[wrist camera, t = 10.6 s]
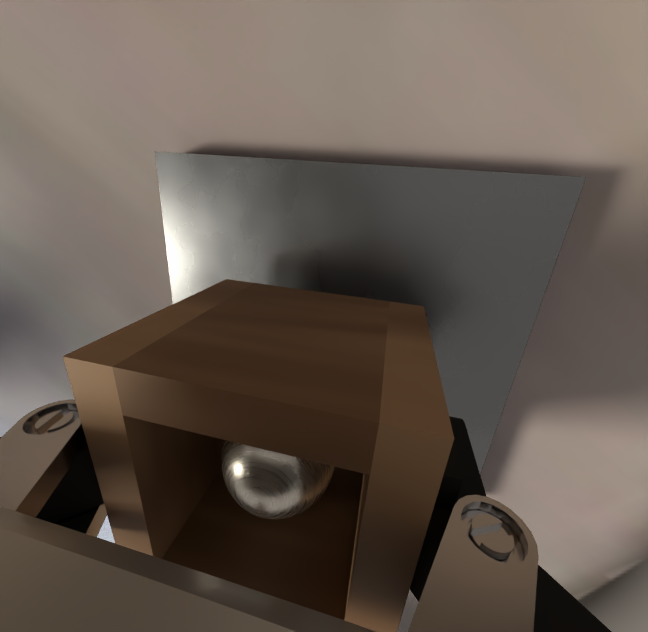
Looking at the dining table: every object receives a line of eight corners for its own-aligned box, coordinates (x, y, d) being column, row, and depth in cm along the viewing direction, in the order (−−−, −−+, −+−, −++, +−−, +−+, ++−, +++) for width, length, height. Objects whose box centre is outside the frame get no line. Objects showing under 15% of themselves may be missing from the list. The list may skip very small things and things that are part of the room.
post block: (176, 155, 12) (-146, 93, 5) (565, 179, 10) (1048, 125, 2) (202, 429, 18) (63, 594, 10) (460, 491, 15) (518, 768, 8)
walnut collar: (226, 278, 10) (62, 356, 5) (424, 306, 9) (453, 438, 4) (233, 429, 13) (126, 581, 8) (390, 466, 12) (384, 672, 6)
